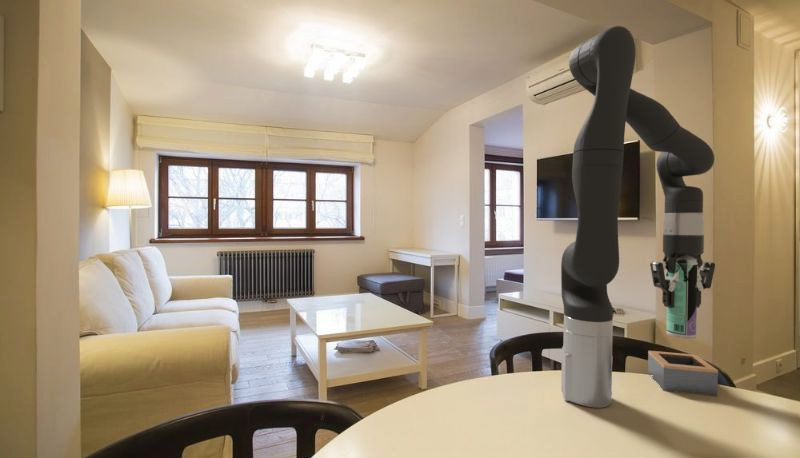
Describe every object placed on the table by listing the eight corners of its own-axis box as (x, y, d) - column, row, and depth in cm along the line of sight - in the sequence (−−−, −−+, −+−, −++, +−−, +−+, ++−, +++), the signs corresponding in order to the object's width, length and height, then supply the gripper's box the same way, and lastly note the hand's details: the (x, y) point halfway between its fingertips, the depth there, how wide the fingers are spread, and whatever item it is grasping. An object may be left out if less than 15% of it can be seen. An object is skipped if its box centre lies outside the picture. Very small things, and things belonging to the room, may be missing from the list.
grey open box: (663, 390, 84) (663, 365, 84) (647, 373, 94) (648, 350, 94) (717, 396, 81) (718, 370, 81) (695, 378, 91) (696, 354, 91)
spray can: (701, 339, 84) (703, 248, 84) (673, 337, 85) (675, 248, 85) (688, 332, 89) (689, 247, 89) (662, 331, 90) (663, 246, 90)
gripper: (665, 233, 83) (663, 311, 83) (727, 233, 83) (726, 310, 84) (641, 232, 90) (640, 303, 90) (699, 232, 91) (697, 303, 91)
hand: (681, 306), depth 87 cm, fingers closed on spray can, 5 cm apart
